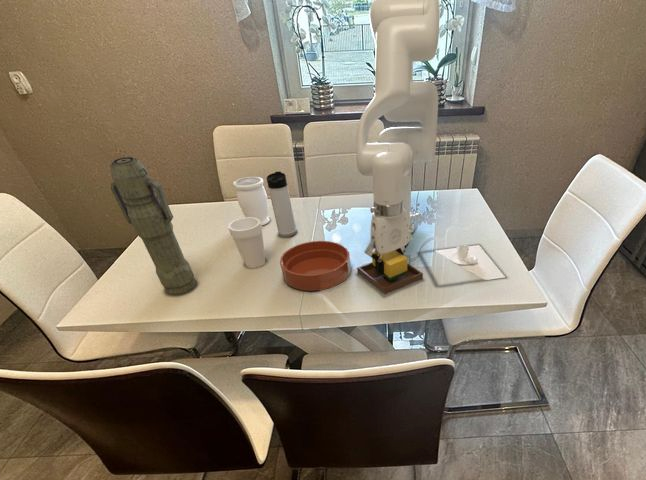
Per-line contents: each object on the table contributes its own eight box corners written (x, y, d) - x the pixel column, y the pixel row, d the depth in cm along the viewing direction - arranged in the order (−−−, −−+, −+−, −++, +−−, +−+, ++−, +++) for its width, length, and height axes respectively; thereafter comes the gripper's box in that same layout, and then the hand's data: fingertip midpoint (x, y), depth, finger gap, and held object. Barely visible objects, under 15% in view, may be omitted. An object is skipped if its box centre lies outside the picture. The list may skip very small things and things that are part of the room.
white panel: (480, 265, 112) (482, 253, 109) (455, 268, 111) (456, 256, 109) (470, 251, 119) (471, 239, 116) (445, 254, 118) (447, 242, 115)
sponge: (389, 260, 113) (388, 245, 109) (407, 273, 107) (407, 258, 104) (372, 267, 111) (371, 252, 107) (390, 281, 105) (389, 265, 102)
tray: (393, 260, 117) (393, 253, 115) (422, 280, 108) (423, 273, 106) (357, 274, 112) (357, 267, 110) (384, 296, 103) (384, 289, 101)
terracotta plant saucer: (330, 250, 123) (328, 234, 120) (363, 276, 111) (362, 260, 107) (273, 270, 116) (269, 254, 112) (301, 300, 103) (298, 283, 99)
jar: (278, 219, 143) (269, 178, 133) (258, 230, 137) (248, 188, 127) (258, 214, 148) (248, 174, 138) (238, 224, 142) (226, 183, 131)
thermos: (198, 293, 108) (142, 163, 84) (156, 297, 108) (89, 168, 84) (205, 277, 115) (155, 152, 91) (166, 280, 114) (105, 156, 90)
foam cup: (275, 257, 122) (266, 218, 113) (260, 272, 115) (249, 232, 106) (250, 254, 124) (239, 215, 115) (234, 268, 118) (221, 228, 109)
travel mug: (298, 229, 136) (287, 171, 123) (294, 237, 132) (282, 178, 118) (281, 229, 137) (269, 171, 123) (276, 237, 132) (263, 178, 119)
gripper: (368, 221, 90) (371, 284, 103) (424, 202, 97) (421, 263, 109) (352, 211, 95) (357, 272, 108) (406, 193, 101) (405, 253, 114)
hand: (389, 267), depth 108 cm, fingers closed on sponge, 6 cm apart
